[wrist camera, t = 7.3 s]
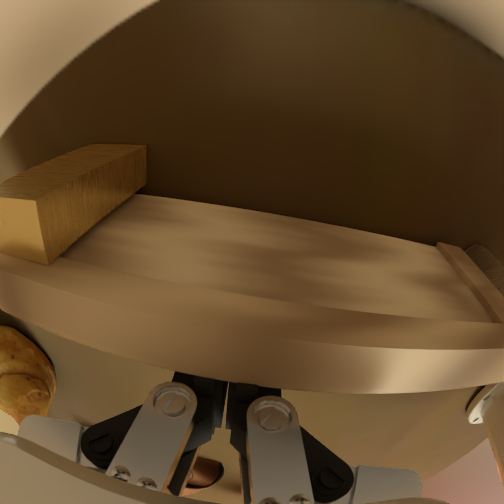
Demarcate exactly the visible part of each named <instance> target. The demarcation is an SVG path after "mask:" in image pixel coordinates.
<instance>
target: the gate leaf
mask: <svg viewBox="0 0 504 504" xmlns="http://www.w3.org/2000/svg"><path fill="white" fill-rule="evenodd" d="M0 308H1V310H2V311H4V312H6V313H8V314H11V315H13V316H15V317H17V318H19V319H21V320H23V321H26V322H28V323H30V324H32V325H35V326H37V327H39V328H42V329H44V330H47V331H49V332H51V333H54V334H57V335H59V336H62V337H64V338H67V339H70V340H72V341H75V342H78V343H81V344H83V345H86V346H89V347H92V348H95V349H98V350H101V351H104V352H107V353H110V354H114V355H117V356H120V357H124V358H127V359H130V360H134V361H138V362H141V363H145V364H149V365H153V366H157V367H161V368H165V369H169V370H173V371H177V372H182V373H186V374H191V375H196V376H201V377H206V378H212V379H217V380H222V381H228V382H234V383H237V382H240V383H248V384H256V385H258V386H262V387H270V388H279V389H289V390H300V391H313V392H329V393H359V394H384V393H413V392H429V391H441V390H451V389H460V388H467V387H475V386H481V385H488V384H494V383H499V382H504V297H503V296H502V295H501V293H500V292H499V291H498V290H497V288H496V287H495V286H494V285H493V284H492V282H491V281H490V280H489V279H488V278H487V277H486V275H485V274H484V273H483V272H482V271H481V270H480V269H479V267H478V266H477V265H476V264H475V263H474V262H473V261H472V260H471V259H470V258H469V256H468V255H467V254H466V253H465V252H464V251H463V250H462V249H461V248H460V247H457V246H453V245H449V244H445V243H441V242H437V245H436V247H434V246H429V245H425V244H421V243H416V242H412V241H408V240H403V239H399V238H394V237H390V236H385V235H380V234H376V233H371V232H366V231H361V230H356V229H351V228H346V227H341V226H336V225H331V224H326V223H321V222H315V221H310V220H305V219H299V218H294V217H288V216H282V215H277V214H271V213H265V212H259V211H253V210H247V209H241V208H234V207H228V206H221V205H215V204H208V203H201V202H194V201H187V200H180V199H173V198H165V197H157V196H149V195H141V194H132V195H131V196H130V197H128V198H127V199H126V200H124V201H123V202H122V203H120V204H119V205H118V206H117V207H115V208H114V209H113V210H112V211H110V212H109V213H108V214H107V215H105V216H104V217H103V218H102V219H100V220H99V221H98V222H97V223H96V224H94V225H93V226H92V227H91V228H90V229H88V230H87V231H86V232H85V233H84V234H83V235H81V236H80V237H79V238H78V239H77V240H76V241H75V242H73V243H72V244H71V245H70V246H69V247H68V248H67V249H66V250H65V251H64V252H62V253H61V254H60V255H59V256H58V257H57V258H56V259H55V260H54V261H53V262H52V263H51V264H50V265H45V264H41V263H37V262H34V261H30V260H26V259H23V258H19V257H16V256H12V255H9V254H5V253H2V252H0Z"/></svg>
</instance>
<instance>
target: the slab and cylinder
mask: <svg viewBox="0 0 504 504" xmlns="http://www.w3.org/2000/svg"><path fill="white" fill-rule="evenodd" d="M146 168H147V145H130V144H90V145H87V146H85V147H82V148H79V149H76V150H74V151H71V152H68V153H66V154H63V155H61V156H58V157H56V158H53V159H51V160H48V161H46V162H44V163H41V164H39V165H37V166H34V167H32V168H30V169H28V170H25V171H23V172H21V173H19V174H17V175H15V176H13V177H11V178H9V179H7V180H5V181H3V182H1V183H0V252H2V253H5V254H9V255H12V256H16V257H19V258H23V259H26V260H30V261H34V262H37V263H41V264H45V265H50V264H51V263H52V262H53V261H54V260H55V259H56V258H57V257H58V256H59V255H60V254H61V253H62V252H64V251H65V250H66V249H67V248H68V247H69V246H70V245H71V244H72V243H73V242H75V241H76V240H77V239H78V238H79V237H80V236H81V235H83V234H84V233H85V232H86V231H87V230H88V229H90V228H91V227H92V226H93V225H94V224H96V223H97V222H98V221H99V220H100V219H102V218H103V217H104V216H105V215H107V214H108V213H109V212H110V211H112V210H113V209H114V208H115V207H117V206H118V205H119V204H120V203H122V202H123V201H124V200H126V199H127V198H128V197H130V196H131V195H132V194H134V193H135V192H136V191H138V190H139V189H140V188H142V187H143V186H144V185H146Z"/></svg>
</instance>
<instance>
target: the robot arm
mask: <svg viewBox="0 0 504 504" xmlns="http://www.w3.org/2000/svg"><path fill="white" fill-rule="evenodd" d="M227 387H228V381H222V380H217V379H212V378H206V377H201V376H196V375H191V374H186V373H182V372H177V371H175V373H174V376H173V379H172V382H165V383H162V384H159V385H158V386H156V387H155V388H153V390H152V391H151V392H150V393H149V395H148V397H147V399H146V401H145V402H144V404H143V405H140V406H138V407H136V408H134V409H131V410H129V411H127V412H124V413H122V414H120V415H117V416H115V417H112V418H110V419H107V420H105V421H103V422H100V423H97V424H95V425H93V426H91V427H85V426H82V425H81V424H79V423H73V422H68V421H62V420H57V419H53V418H48V417H44V416H40V415H29V416H26V417H25V418H24V419H23V420H22V422H21V424H20V427H19V431H18V436H16V435H13V434H8V433H4V432H0V504H219V503H212V502H205V501H200V500H194V499H189V498H184V497H181V496H182V494H183V491H184V489H185V486H186V484H187V481H188V479H189V476H190V474H191V471H192V469H193V466H194V464H195V461H196V459H197V456H198V453H199V451H200V448H201V445H203V444H204V443H206V442H208V441H210V440H211V437H212V434H214V430H215V427H218V428H221V424H222V418H223V412H224V405H225V399H226V393H227ZM466 416H467V418H468V421H469V422H470V423H473V424H478V423H482V422H483V424H484V426H485V429H486V432H487V435H488V438H489V441H490V444H491V447H492V451H493V454H494V458H495V461H496V464H497V468H498V472H499V476H500V480H501V484H502V489H503V493H504V382H499V383H494V384H488V385H486V386H485V387H484V388H483V389H482V390H481V391H480V392H479V393H478V394H477V395H476V397H475V398H474V399H473V400H472V402H471V403H470V405H469V407H468V409H467V411H466ZM225 429H231V437H230V443H231V444H232V445H233V447H234V448H235V449H236V450H237V451H238V452H239V462H240V477H241V490H242V503H243V504H449V503H447V502H444V501H441V500H437V499H431V498H421V491H422V481H421V477H420V476H419V474H418V473H417V472H415V471H414V470H411V469H400V468H385V467H374V466H365V465H359V466H349V465H348V464H347V463H346V462H344V461H343V460H342V459H340V458H339V457H338V456H336V455H335V454H334V453H333V452H331V451H330V450H329V449H328V448H326V447H325V446H324V445H323V444H321V443H320V442H319V441H318V440H317V439H315V438H314V437H313V436H312V435H311V434H309V433H308V432H307V431H306V430H305V429H303V428H302V427H301V426H300V425H299V420H298V415H297V412H296V410H295V408H294V407H293V405H292V404H291V403H290V402H288V401H287V400H285V399H283V398H281V389H279V388H270V387H262V386H258V385H256V384H248V383H240V382H237V383H234V382H229V388H228V400H227V413H226V427H225Z"/></svg>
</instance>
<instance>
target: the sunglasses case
mask: <svg viewBox="0 0 504 504" xmlns="http://www.w3.org/2000/svg"><path fill="white" fill-rule="evenodd" d="M223 474H224V467H223V466H222V464H221V463H218V462H214V461H210V460H206V459H202V458H198V457H197V459H196V461H195V464H194V466H193V469H192V471H191V474H190V476H189V479H188V481H187V484H186V486H185V489H184V491H183V494H182V496H181V497H185V496H186V495H190V494H193V493H196V492H199V491H201V490H203V489H205V488H208V487H211V486H213V485H214V484H216V483H217V482H218V481H219V480H220V479H221V478H222V476H223Z"/></svg>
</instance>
